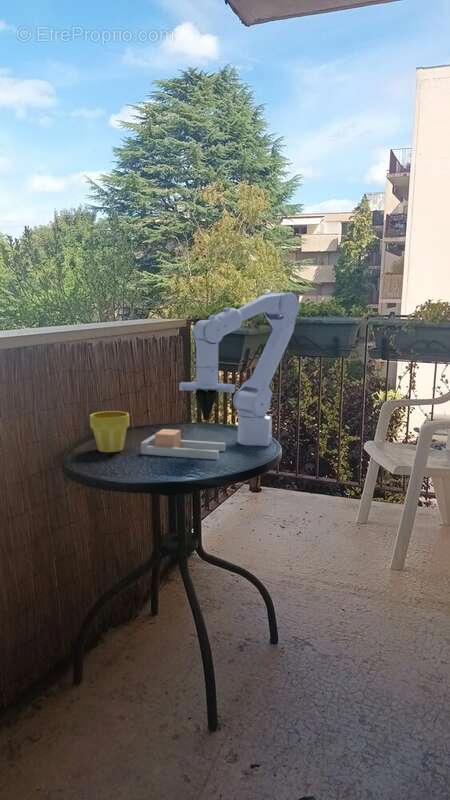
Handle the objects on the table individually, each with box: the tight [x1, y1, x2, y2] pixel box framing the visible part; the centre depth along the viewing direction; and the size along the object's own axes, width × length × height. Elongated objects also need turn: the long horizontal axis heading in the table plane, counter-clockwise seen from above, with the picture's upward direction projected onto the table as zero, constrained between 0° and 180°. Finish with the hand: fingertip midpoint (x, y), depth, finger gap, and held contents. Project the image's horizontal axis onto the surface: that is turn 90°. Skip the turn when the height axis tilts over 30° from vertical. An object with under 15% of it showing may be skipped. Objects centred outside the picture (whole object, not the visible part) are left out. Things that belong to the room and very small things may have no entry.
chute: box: [140, 434, 227, 460], centre depth 138 cm, size 20×14×4 cm
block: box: [154, 428, 182, 448], centre depth 139 cm, size 5×6×5 cm
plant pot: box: [89, 410, 130, 453], centre depth 143 cm, size 10×10×10 cm
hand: (206, 418), depth 140 cm, fingers closed
